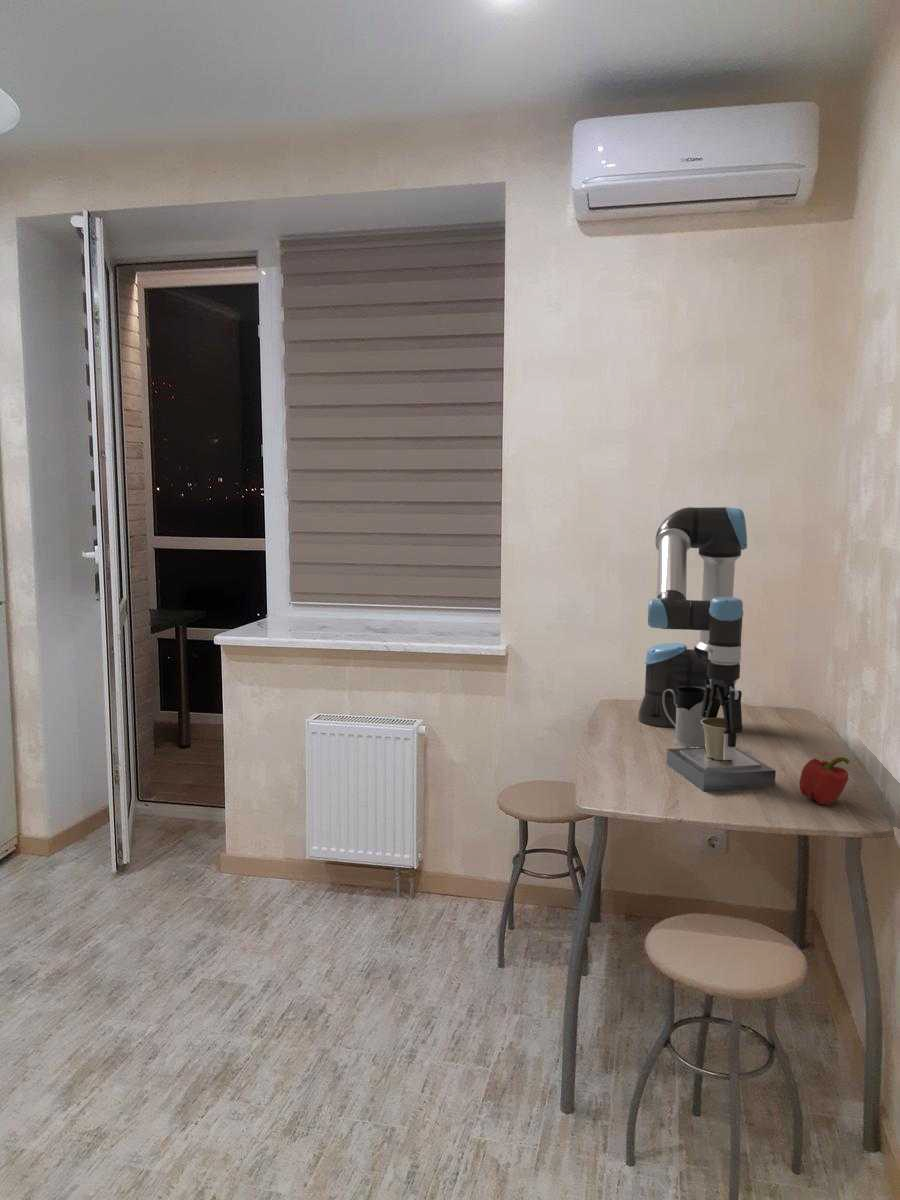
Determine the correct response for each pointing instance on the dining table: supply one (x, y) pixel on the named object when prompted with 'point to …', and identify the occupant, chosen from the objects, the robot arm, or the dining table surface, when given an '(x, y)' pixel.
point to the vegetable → (823, 780)
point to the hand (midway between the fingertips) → (719, 753)
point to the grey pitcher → (688, 716)
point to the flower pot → (714, 737)
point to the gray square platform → (720, 770)
